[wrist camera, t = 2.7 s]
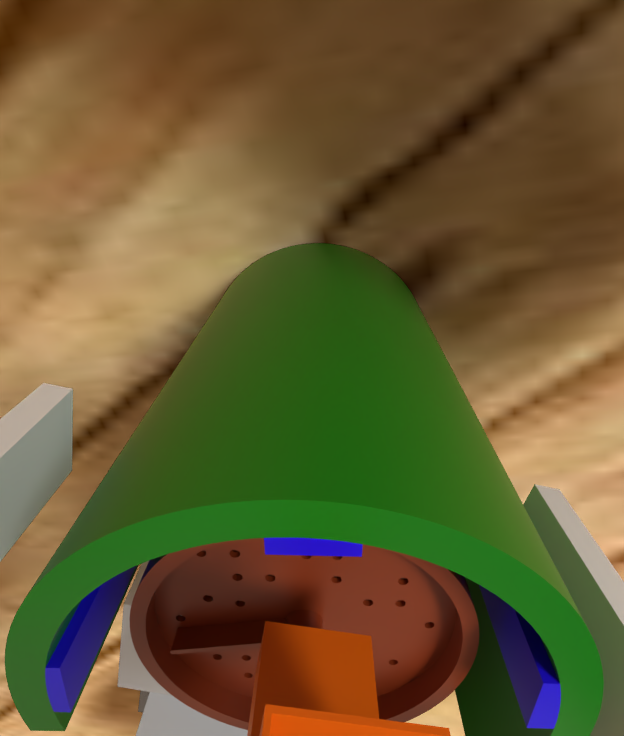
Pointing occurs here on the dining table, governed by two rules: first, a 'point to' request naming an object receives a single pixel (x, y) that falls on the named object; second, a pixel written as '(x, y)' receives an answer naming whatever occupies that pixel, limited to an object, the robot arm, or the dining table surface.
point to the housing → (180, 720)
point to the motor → (314, 534)
